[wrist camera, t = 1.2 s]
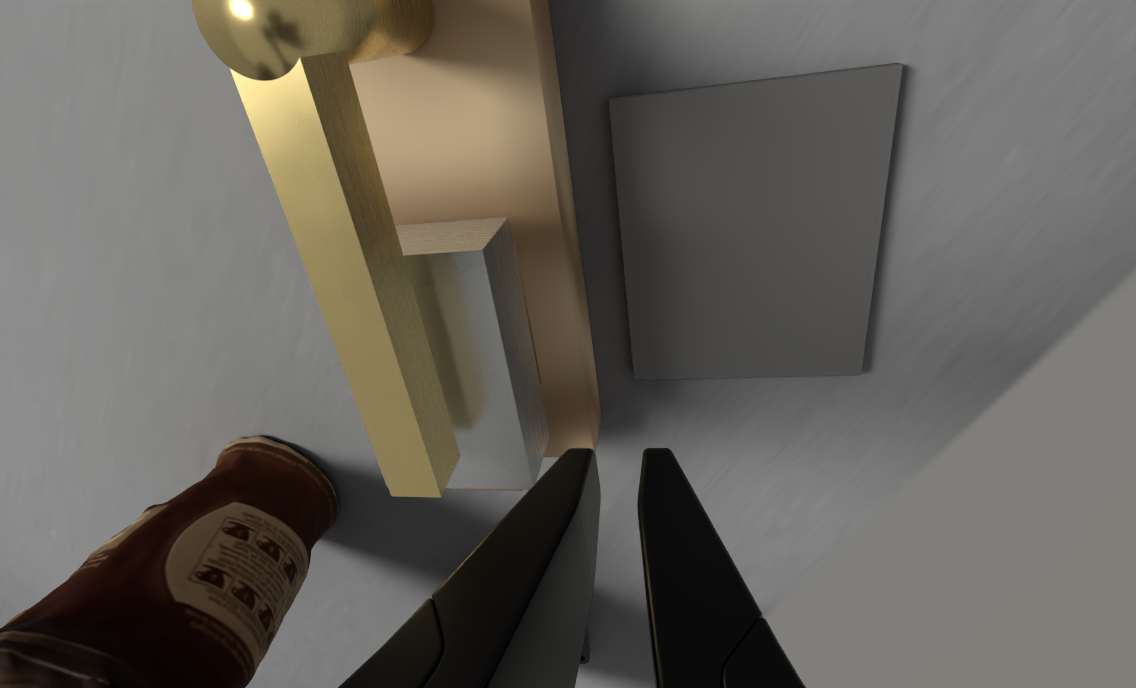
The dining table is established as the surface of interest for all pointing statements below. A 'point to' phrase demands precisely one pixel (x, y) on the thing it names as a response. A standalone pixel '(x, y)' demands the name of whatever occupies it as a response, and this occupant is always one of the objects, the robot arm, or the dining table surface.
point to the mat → (753, 222)
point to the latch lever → (343, 205)
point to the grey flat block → (479, 348)
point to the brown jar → (182, 583)
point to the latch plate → (494, 174)
